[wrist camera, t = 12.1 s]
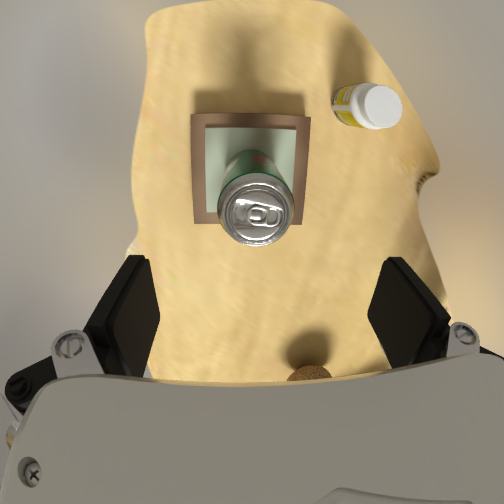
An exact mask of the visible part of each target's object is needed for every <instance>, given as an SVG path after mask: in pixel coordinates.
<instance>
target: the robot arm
mask: <svg viewBox="0 0 504 504" xmlns="http://www.w3.org/2000/svg"><path fill="white" fill-rule="evenodd" d="M367 315H368V319H369V321H370V323H371V325H372V327H373V329H374V331H375V333H376V335H377V338H378V340H379V342H380V344H381V349H382V351H383V353H384V354H385V355H386V356H387V359H388V361H389V363H390V365H391V367H392V369H388V370H383V371H377V372H371V373H364V374H357V375H350V376H342V377H334V378H324V379H313V380H301V381H285V382H257V383H220V382H194V381H178V380H164V379H152V378H143V375H144V371H145V368H146V364H147V361H148V357H149V354H150V351H151V347H152V344H153V341H154V337H155V334H156V331H157V328H158V324H159V321H160V311H159V307H158V302H157V297H156V293H155V288H154V283H153V278H152V272H151V267H150V262H149V259H145V257H144V255H129V256H128V257H127V259H126V260H125V262H124V263H123V265H122V266H121V268H120V269H119V271H118V273H117V274H116V276H115V277H114V279H113V280H112V282H111V284H110V285H109V287H108V289H107V290H106V291H105V293H104V295H103V296H102V298H101V300H100V301H99V303H98V305H97V307H96V308H95V310H94V312H93V313H92V315H91V317H90V319H89V320H88V322H87V324H86V326H85V327H84V330H83V331H80V330H69V331H66V332H63V333H62V334H60V335H59V336H58V337H57V338H56V339H55V340H54V341H53V343H52V346H51V354H52V356H49V357H48V358H45V359H44V360H41V361H39V362H37V363H35V364H33V365H31V366H29V367H27V368H25V369H23V370H21V371H19V372H17V373H15V374H14V375H12V376H11V377H10V378H9V379H8V381H7V383H6V386H5V395H4V396H2V395H1V394H0V504H504V358H503V357H502V356H499V355H497V354H495V353H493V352H491V351H489V350H487V349H485V348H483V347H481V346H479V345H480V344H479V343H480V340H479V336H478V334H477V332H476V331H475V330H474V329H473V328H472V327H471V326H469V325H467V324H466V323H462V322H456V323H453V324H452V325H451V327H450V326H449V325H448V323H449V321H450V319H451V316H450V315H449V314H448V312H447V311H446V310H445V309H444V307H443V306H442V305H441V303H440V302H439V301H438V300H437V298H436V297H435V296H434V295H433V293H432V292H431V291H430V290H429V288H428V287H427V286H426V285H425V284H424V282H423V281H422V280H421V279H420V278H419V276H418V275H417V274H416V273H415V272H414V271H413V269H412V268H411V267H410V266H409V265H408V264H407V263H406V262H405V260H404V259H403V258H402V257H388V258H387V260H385V261H384V262H383V265H382V268H381V271H380V275H379V278H378V281H377V285H376V288H375V291H374V294H373V297H372V300H371V303H370V306H369V309H368V313H367Z"/></svg>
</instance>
